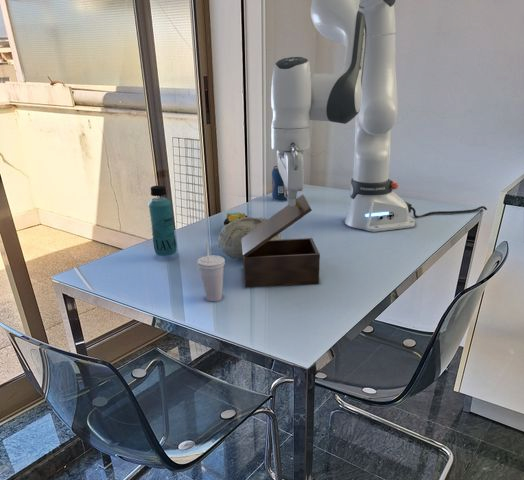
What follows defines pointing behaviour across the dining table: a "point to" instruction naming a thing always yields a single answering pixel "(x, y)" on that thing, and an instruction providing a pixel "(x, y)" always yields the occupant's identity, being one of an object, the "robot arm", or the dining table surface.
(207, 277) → the smoothie
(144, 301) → the dining table surface
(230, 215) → the gadget
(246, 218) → the decorative shell
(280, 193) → the soda can
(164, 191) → the beverage bottle
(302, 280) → the chest
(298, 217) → the lid
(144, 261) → the dining table surface
